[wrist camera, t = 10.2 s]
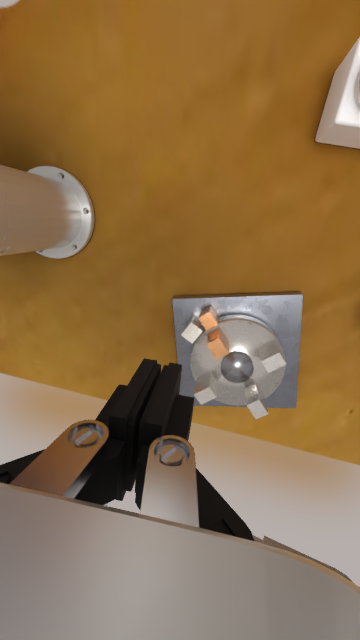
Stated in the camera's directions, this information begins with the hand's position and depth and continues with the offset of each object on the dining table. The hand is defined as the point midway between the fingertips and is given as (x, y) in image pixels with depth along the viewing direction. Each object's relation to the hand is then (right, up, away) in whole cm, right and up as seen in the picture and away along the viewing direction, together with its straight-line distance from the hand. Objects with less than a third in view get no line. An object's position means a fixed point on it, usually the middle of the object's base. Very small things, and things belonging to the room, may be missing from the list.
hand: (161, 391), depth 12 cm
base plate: (+10, -2, +32) cm, 34 cm away
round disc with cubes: (+9, -1, +30) cm, 31 cm away
